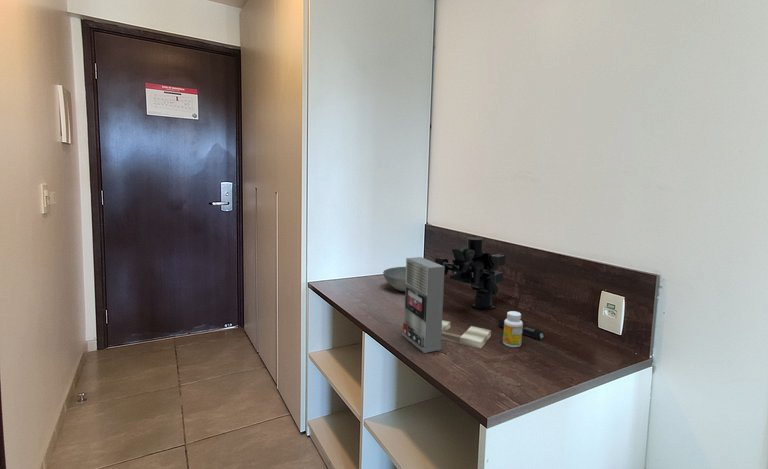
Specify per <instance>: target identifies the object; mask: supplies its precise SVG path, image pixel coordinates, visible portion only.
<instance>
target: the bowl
mask: <svg viewBox="0 0 768 469" xmlns="http://www.w3.org/2000/svg"><path fill="white" fill-rule="evenodd" d="M382 274H383V277H384V279H385V281H386V282H387V283H388V284H389V285H390V286H391V287H393V289H395V290H397V291H399V292H404V293H405V284H406V266H396V267H391V268H387V269H385V270H383V271H382Z"/></svg>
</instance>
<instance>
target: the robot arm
mask: <svg viewBox="0 0 768 469" xmlns="http://www.w3.org/2000/svg"><path fill="white" fill-rule="evenodd" d="M466 241H467V243H466V245H461V244H457V245H456V246H455V247H453V248H452V249H451V252H452V254H453V257H454V258H453V259H452V263H450V262H449V260H448V259H447V258H445V257H440V256H439V257H436V258H435V259H434V260H435V261H434V263H437V264H439V265H442V266H444V267H445V269H444V276H447V274H448V273H449V271H451V272H452V274H450V276H449V279H450V280H453V281H458V282H461V283H465V284H469V285H470V286H471V290H472V291H474V292H475V296H474V304H471V306H472V307H473V308H476V309H479V310H482V311H488V310H491V309H495V308H496V306H495V305H493V300H494V299H493V297H494V296H495V295H497V294H498V291H499V287H498V283H502V282H504V281H503V274H504V273H503V272H499V271H497V270H498V268H499V266H503V265H506V264H505V258H506V256H504V255H500V254H501V253H497V254H491V253H490V252H485V251H484V243H485V238H484V237H478V236H477V237H473V236H469V237H467V240H466Z"/></svg>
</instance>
